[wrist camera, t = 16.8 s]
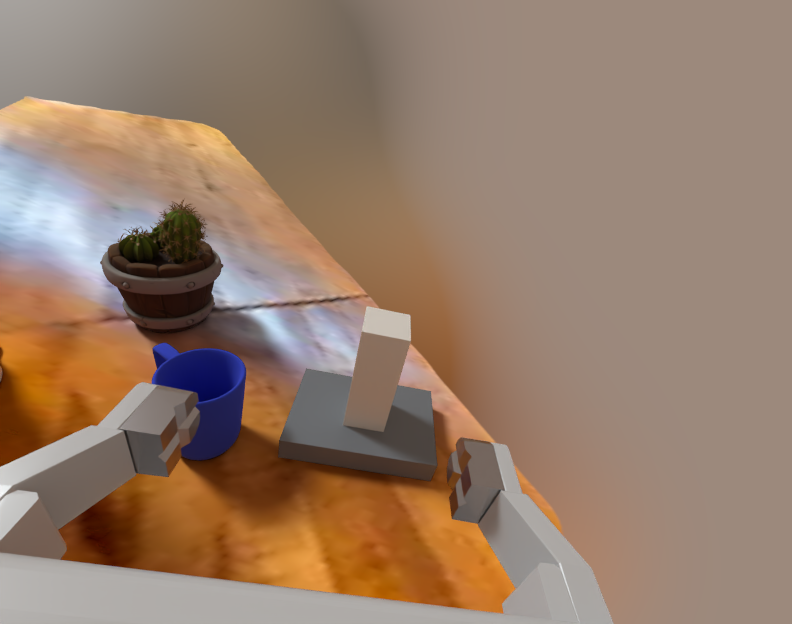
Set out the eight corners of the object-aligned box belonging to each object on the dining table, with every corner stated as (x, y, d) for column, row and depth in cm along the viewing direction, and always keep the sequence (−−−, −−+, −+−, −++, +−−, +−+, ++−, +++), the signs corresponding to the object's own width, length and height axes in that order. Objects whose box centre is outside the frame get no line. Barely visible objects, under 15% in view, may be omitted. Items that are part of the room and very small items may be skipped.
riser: (278, 457, 39) (279, 440, 38) (304, 384, 50) (306, 368, 48) (430, 481, 41) (437, 465, 40) (425, 405, 51) (430, 391, 50)
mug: (200, 384, 46) (194, 322, 41) (261, 436, 41) (263, 374, 36) (130, 420, 39) (112, 352, 34) (193, 486, 35) (184, 419, 30)
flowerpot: (87, 324, 50) (46, 185, 40) (171, 283, 63) (156, 170, 53) (175, 356, 49) (155, 219, 39) (242, 308, 62) (240, 196, 52)
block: (342, 425, 41) (361, 331, 34) (348, 395, 46) (367, 306, 39) (383, 432, 42) (410, 341, 35) (385, 401, 46) (410, 315, 39)
